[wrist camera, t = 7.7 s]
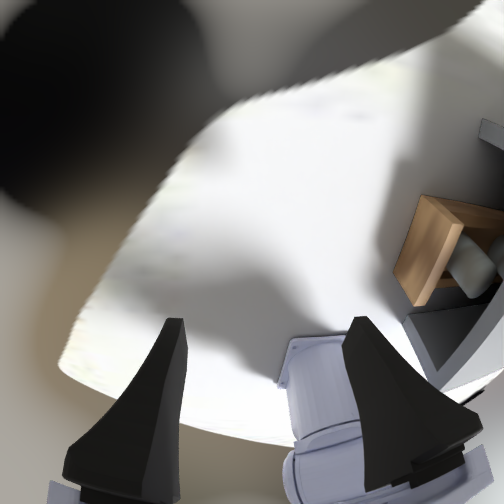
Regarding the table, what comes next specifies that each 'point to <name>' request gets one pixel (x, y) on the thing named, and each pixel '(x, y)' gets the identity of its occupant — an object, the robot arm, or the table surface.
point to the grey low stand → (461, 327)
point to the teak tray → (451, 249)
